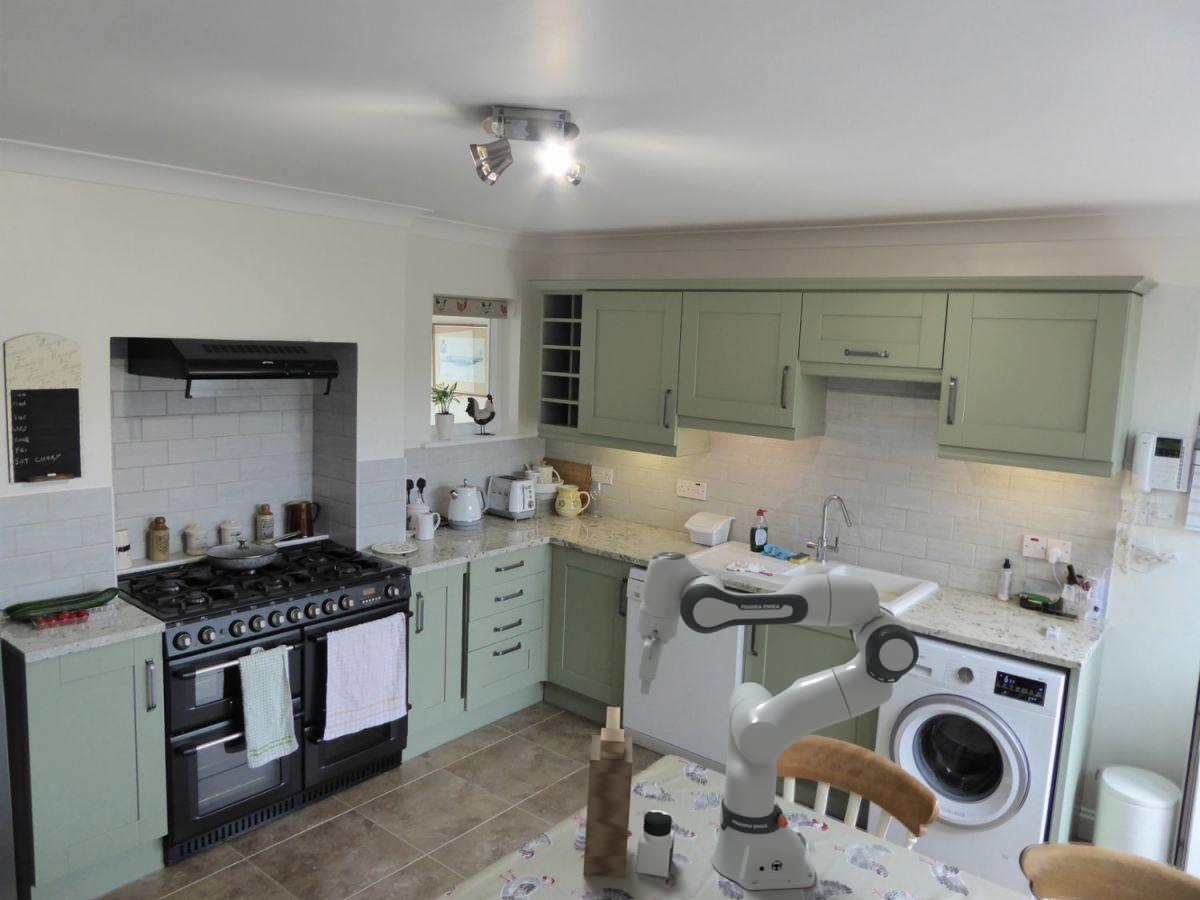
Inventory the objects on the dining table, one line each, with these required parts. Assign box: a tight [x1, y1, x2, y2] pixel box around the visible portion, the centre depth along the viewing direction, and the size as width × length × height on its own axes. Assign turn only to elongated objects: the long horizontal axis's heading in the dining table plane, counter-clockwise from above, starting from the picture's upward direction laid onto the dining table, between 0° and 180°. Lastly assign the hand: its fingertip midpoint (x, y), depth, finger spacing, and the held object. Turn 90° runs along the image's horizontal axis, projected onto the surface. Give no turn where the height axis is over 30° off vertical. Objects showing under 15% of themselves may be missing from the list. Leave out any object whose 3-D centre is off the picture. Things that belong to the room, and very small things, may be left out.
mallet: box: [600, 706, 625, 760], centre depth 194 cm, size 5×20×4 cm, turn 178°
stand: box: [582, 734, 634, 878], centre depth 191 cm, size 9×12×26 cm
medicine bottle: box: [636, 809, 675, 879], centre depth 190 cm, size 7×7×12 cm
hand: (646, 685), depth 191 cm, fingers open, 8 cm apart
